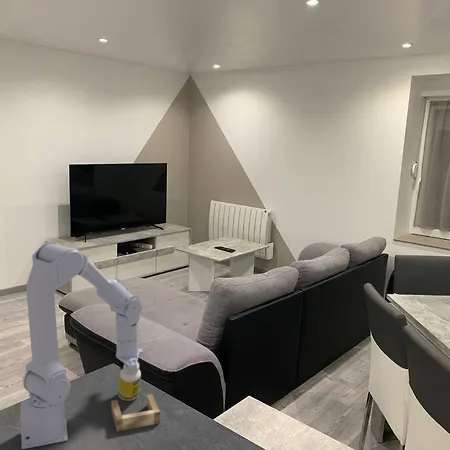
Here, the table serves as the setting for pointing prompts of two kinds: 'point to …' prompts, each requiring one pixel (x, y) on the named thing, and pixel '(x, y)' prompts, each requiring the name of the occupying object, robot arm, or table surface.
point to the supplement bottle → (129, 383)
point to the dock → (136, 416)
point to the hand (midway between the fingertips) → (128, 383)
